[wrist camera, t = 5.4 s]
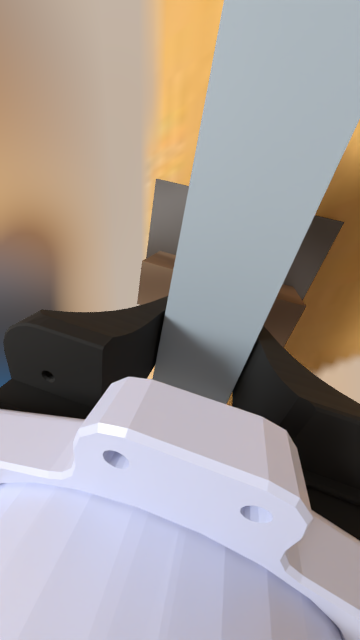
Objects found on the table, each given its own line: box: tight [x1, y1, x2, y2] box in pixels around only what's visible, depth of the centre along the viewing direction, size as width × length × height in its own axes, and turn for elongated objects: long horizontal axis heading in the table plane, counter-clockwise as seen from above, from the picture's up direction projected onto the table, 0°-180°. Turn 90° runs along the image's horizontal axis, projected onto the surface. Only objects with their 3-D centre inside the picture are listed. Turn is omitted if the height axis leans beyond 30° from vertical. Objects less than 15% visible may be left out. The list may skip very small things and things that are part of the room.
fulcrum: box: [137, 179, 344, 347], centre depth 16 cm, size 12×12×4 cm
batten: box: [153, 0, 360, 404], centre depth 11 cm, size 24×4×5 cm, turn 168°
